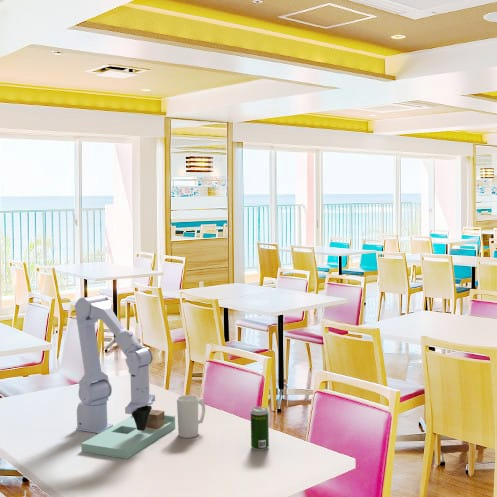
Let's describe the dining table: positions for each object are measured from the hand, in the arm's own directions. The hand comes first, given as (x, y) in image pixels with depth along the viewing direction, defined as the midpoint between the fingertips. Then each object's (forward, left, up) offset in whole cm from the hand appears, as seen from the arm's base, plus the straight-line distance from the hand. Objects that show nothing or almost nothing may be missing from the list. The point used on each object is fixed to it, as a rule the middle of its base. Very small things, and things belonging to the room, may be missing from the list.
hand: (141, 429), depth 222 cm
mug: (+12, +12, -4) cm, 17 cm away
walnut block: (0, +8, -1) cm, 8 cm away
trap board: (-4, 0, -4) cm, 6 cm away
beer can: (+37, +8, -4) cm, 38 cm away
